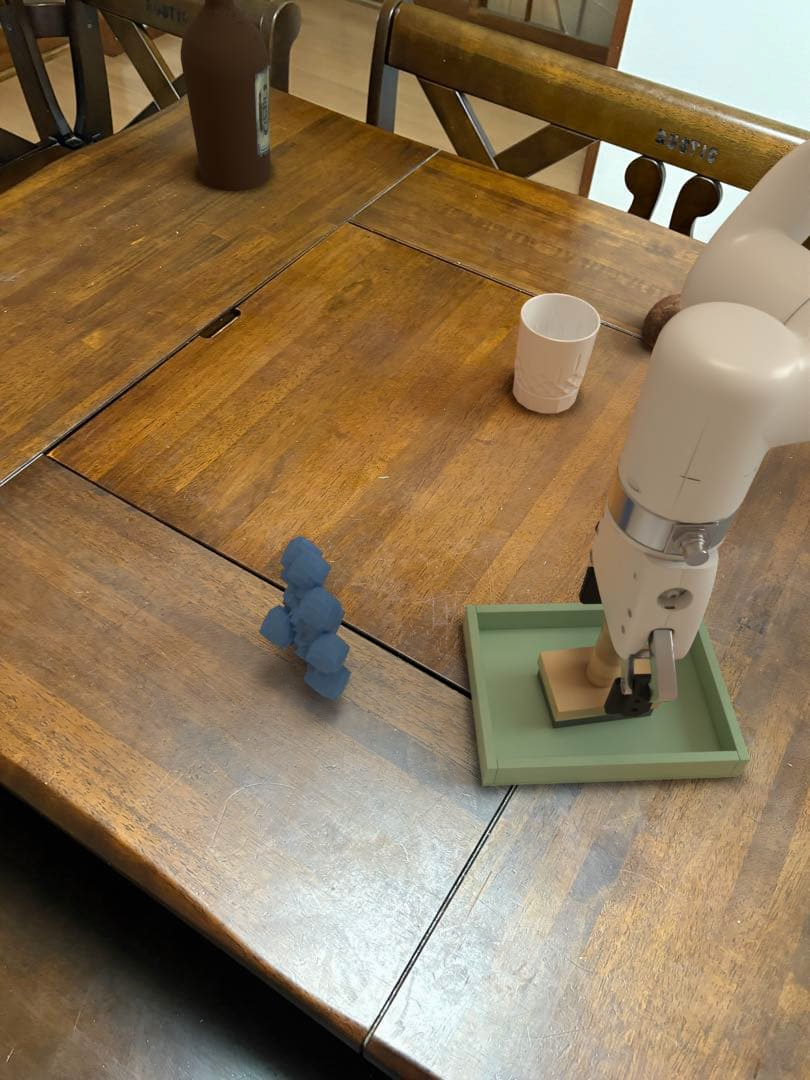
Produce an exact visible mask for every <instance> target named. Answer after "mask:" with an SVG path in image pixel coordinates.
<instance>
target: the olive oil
mask: <svg viewBox="0 0 810 1080" xmlns="http://www.w3.org/2000/svg"><path fill="white" fill-rule="evenodd" d="M180 63H181V70H182V76H183V80H184V85H185V90H186V96H187V101H188V108H189V113H190V117H191V118H190V119H191V124H192V130H193V136H194V142H195V148H196V155H197V161H198V168H199V174H200V178H201V180H202V181H203V182H204V183H205V184H206V185H208V186H209V187H211V188H213V189H216V190H220V191H227V192H244V191H249V190H253V189H257V188H259V187H261V186H263V185H264V184H266V183H267V182H268V181H269V180H270V178H271V175H272V173H271V172H272V171H271V170H272V169H271V166H272V165H271V164H272V163H271V138H270V136H271V135H270V134H271V132H270V129H271V128H270V59H269V53H268V48H267V44H266V42H265V40H264V36H263V35H262V33H261V31H260V29H258V27H257V26H256V25H255V23H253V22H252V20H250V18H249V17H247V15H246V14H244V12H243V11H242V10H241V9H240V8H239V7H238V6H237V5H236V3H235V1H234V0H204V4H203V6H202V7H201V8H200V10H199V11H198V13H197V14H196V15H195V16H194V18H193V19H192V21H190V23H189V24H188V26H187V27H186V29H185V31H184V33H183V35H182V39H181V45H180Z"/></svg>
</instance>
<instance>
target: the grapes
mask: <svg viewBox="0 0 810 1080" xmlns="http://www.w3.org/2000/svg"><path fill="white" fill-rule="evenodd" d="M323 554H324V552H323V551H322V550H321V549H320V548H319V547H318V546H317V545H316V544H314V543H313V542H312V541H311V540H309V539H308V538H306V537H304V536H301V535H298V536H296V537H295V538H293V539H291V540H290V541H289V542H288V544H287V546H286V547H285V549H284V551H283V554H282V556H281V559H280V561H279V563H280V564H281V565H282V566H283V568H282V571H281V573H280V576H279V579H280V580H282V581H283V582H284V584H285V585H287V586H286V588H285V589H284V592H283V594H282V598H283V599H282V602H281V604H283V606H282V605H280V604H278V605H276V606H273V607H272V608H270V609H269V611H268V612H267V614H266V615H265V617H264V619H263V621H262V624H261V626H260V630H259V634H260V635H261V636H263V637H264V638H265V639H266V640H267V641H268V642H269V643H270V644H271V645H274V646H276V647H278V648H280V649H283V650H284V649H287V648H289V647H290V646H292V645H293V646H294V649H293V653H294V654H295V655H296V656H297V657H298V658H300V659H302V660H303V661H304V662H305V663H306V668H307V669H306V672H305V674H304V677H303V681H304V683H306V685H308V686H309V687H310V688H311V689H312V690H314V691H315V692H316V693H318V695H320V696H322V697H324V698H326V699H328V700H331V701H333V700H337V699H338V698H340V696H341V695H342V694H343V693H344V691H345V689H346V688H347V685H348V682H349V679H350V677H351V674H352V672H351V670H349V668H347V667H346V666H345V665H344V664H345V663H346V659H347V657H348V654H349V652H350V649H351V646H350V645H349V644H348V643H347V642H346V641H345V640H344V639H343V638H342V637H340V636H339V635H338V634H337V633H338V631H339V629H340V627H341V624H342V622H343V620H344V617H345V614H346V611H345V610H344V608H343V603H342V602H341V601H340V600H339V599H338V598H337V597H336V596H335V595H334V594H332V592H330V591H328V590H327V589H325V588H326V586H325V585H324V584H325V583H326V581H327V579H328V576H329V573H330V571H331V570H332V566H331V564H330V563H329V562H328V561H327V560H326V559H324V557H323Z"/></svg>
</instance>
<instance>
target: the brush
mask: <svg viewBox="0 0 810 1080" xmlns="http://www.w3.org/2000/svg"><path fill="white" fill-rule="evenodd" d="M621 659H622V658H621V657H620V656H619V655H618V654H617V653H616V651H615V649H614V646H613V643H612V640H611V636H610V632H609V629H608V625H607V621H606V617H605V620H604V623H603V625H602V628H601V631H600V633H599V636H598V639H597V641H596V644H595V646H589V647H581V648H572V649H564V650H556V651H547V652H540V654H539V658H538V661H537V664H538V667H539V670H538V673H537V676H538V679H539V682H540V686H541V689H542V692H543V695H544V699H545V702H546V705H547V709H548V712H549V715H550V718H551V722H552V725H553V728H562V727H569V726H577V725H585V724H592V723H600V722H607V721H615V720H622V719H630V718H637V717H645V716H651V714H652V712H653V710H654V709H655V708H659V707H660V705H661V703H662V702H653V704H652V706H651V708H650V710H649V711H648V712H646V713H643V714H642V715H640V716H636V717H624V716H622V715H621V714H606V713H605V710H604V704H605V702H606V699H607V697H608V694H609V692H610V690H611V687H612V685H613V682H614V680H615V679H616V678H618V677H621ZM634 674H651V668H650V663H649V660H648V659H635V664H634Z"/></svg>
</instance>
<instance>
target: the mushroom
mask: <svg viewBox="0 0 810 1080" xmlns="http://www.w3.org/2000/svg"><path fill="white" fill-rule="evenodd" d="M680 299H681V293H674V294H671V295H668V296H666V297H665V296H664V297H662V298H661V299H660V300H659V301H657V302H656V303H654V305H653V306H652V307H651V308H650V309H649V310H648V312H647V314H646V316H645V318H644V320H643V325H642V331H641V336H642V337H641V338H642V339H643V341H644V342H645V343H646V344H647V345H648V346H650V347H651V348H653V349H654V346H655V344H656V341H657V339H658V336H659V334H660V332H661V330H662V329H663V327H664V326H665V325H666V324H667V322H668V321H669V320H670V319H671V318H672V317H673V316H675V315H676V314H677V313H679V312H680V311H681V309H680Z"/></svg>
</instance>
